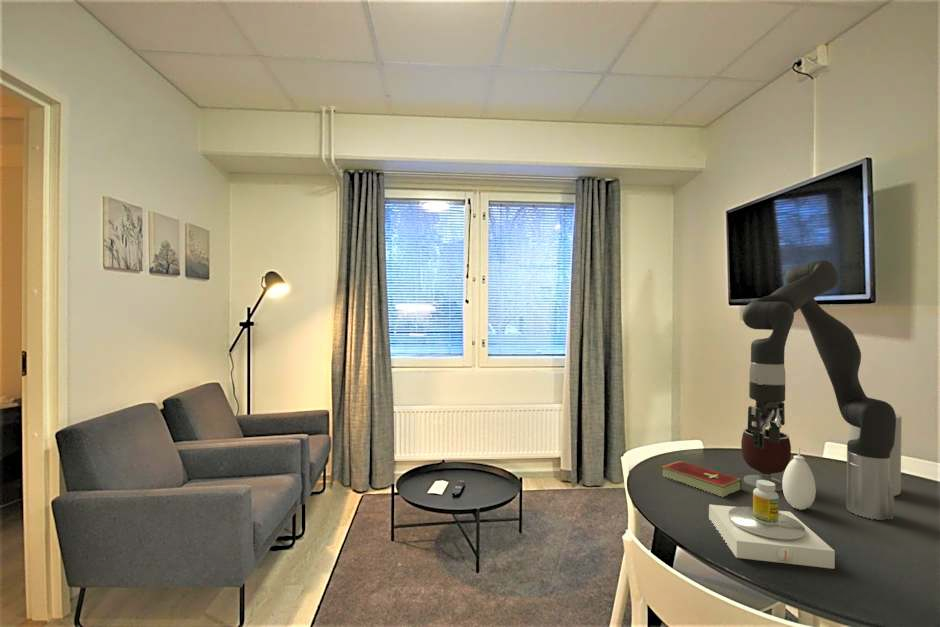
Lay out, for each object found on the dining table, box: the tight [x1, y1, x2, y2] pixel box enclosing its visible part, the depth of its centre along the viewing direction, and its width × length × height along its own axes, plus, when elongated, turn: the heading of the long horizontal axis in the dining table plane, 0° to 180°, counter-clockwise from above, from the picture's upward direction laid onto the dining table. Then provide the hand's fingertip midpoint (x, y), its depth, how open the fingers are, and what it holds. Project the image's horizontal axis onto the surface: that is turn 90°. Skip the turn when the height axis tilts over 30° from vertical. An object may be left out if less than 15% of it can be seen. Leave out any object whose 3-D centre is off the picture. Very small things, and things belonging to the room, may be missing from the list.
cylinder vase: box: [848, 413, 903, 496], centre depth 145 cm, size 12×12×25 cm
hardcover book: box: [660, 460, 743, 498], centre depth 149 cm, size 12×21×4 cm, turn 34°
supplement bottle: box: [752, 480, 780, 525], centre depth 111 cm, size 5×5×10 cm
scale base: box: [708, 503, 836, 570], centre depth 111 cm, size 20×20×4 cm
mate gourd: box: [740, 427, 792, 492], centre depth 150 cm, size 16×14×20 cm
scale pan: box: [729, 506, 805, 540], centre depth 111 cm, size 16×16×1 cm
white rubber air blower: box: [781, 447, 817, 511], centre depth 130 cm, size 8×8×18 cm
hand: (766, 445), depth 111 cm, fingers open, 8 cm apart
